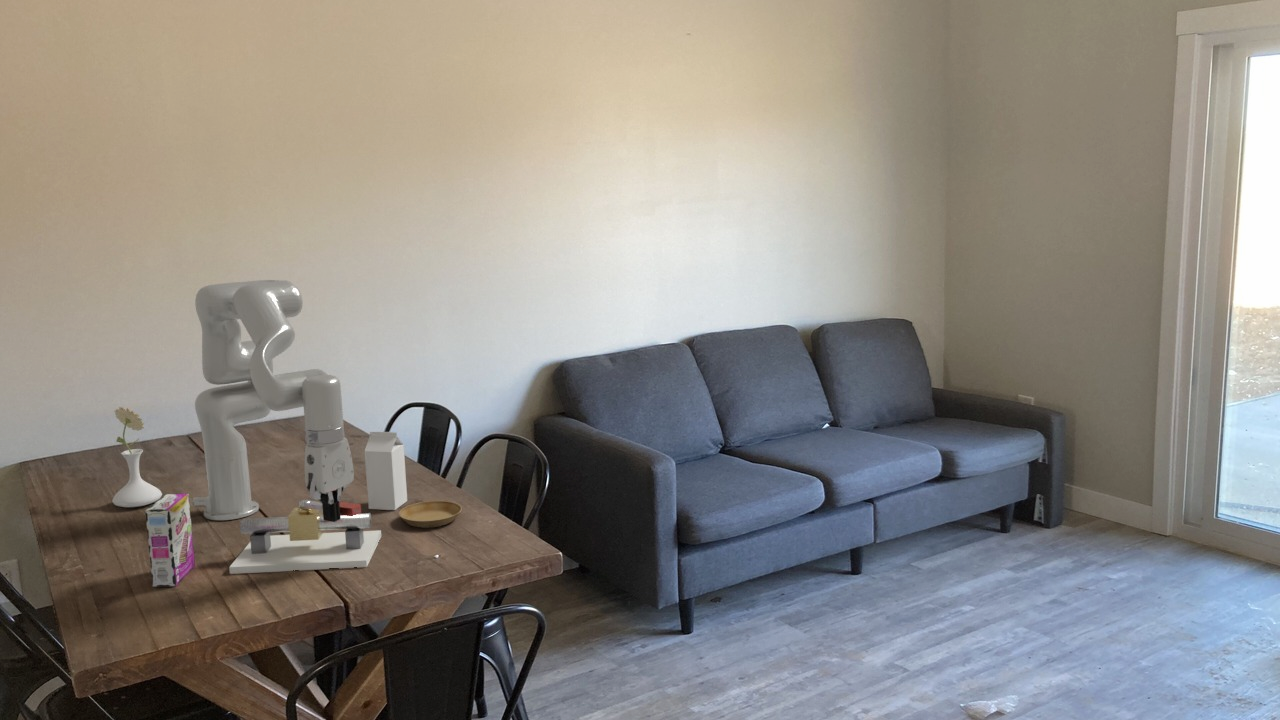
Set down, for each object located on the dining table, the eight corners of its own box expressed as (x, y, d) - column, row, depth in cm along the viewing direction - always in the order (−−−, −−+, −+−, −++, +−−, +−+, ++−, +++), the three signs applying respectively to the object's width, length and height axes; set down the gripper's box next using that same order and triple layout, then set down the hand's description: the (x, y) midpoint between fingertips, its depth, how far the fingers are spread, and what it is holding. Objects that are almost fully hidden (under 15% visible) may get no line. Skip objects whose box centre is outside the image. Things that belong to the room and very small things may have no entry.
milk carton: (395, 510, 243) (390, 436, 240) (368, 509, 245) (363, 435, 241) (407, 501, 250) (402, 428, 247) (381, 500, 251) (376, 427, 248)
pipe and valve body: (240, 555, 212) (236, 515, 210) (248, 546, 217) (245, 507, 216) (369, 549, 214) (366, 509, 212) (373, 540, 220) (371, 501, 218)
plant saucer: (408, 510, 244) (408, 500, 244) (468, 510, 244) (467, 500, 243) (391, 531, 230) (391, 521, 229) (454, 531, 229) (454, 520, 229)
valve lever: (352, 516, 208) (352, 508, 208) (296, 509, 213) (295, 501, 213) (361, 512, 210) (360, 504, 210) (305, 505, 216) (304, 497, 215)
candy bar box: (177, 587, 200) (169, 509, 197) (152, 588, 200) (143, 510, 196) (197, 565, 211) (189, 492, 208) (173, 567, 210) (164, 493, 207)
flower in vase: (170, 502, 253) (159, 407, 248) (123, 514, 244) (111, 416, 240) (149, 492, 261) (139, 400, 257) (103, 503, 253) (91, 408, 249)
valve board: (229, 573, 206) (229, 567, 206) (255, 542, 224) (254, 536, 223) (366, 567, 208) (366, 560, 208) (381, 536, 226) (380, 530, 226)
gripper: (314, 446, 196) (321, 534, 199) (363, 428, 209) (369, 510, 213) (284, 442, 199) (292, 529, 202) (335, 425, 212) (342, 506, 216)
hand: (332, 519), depth 208 cm, fingers closed
